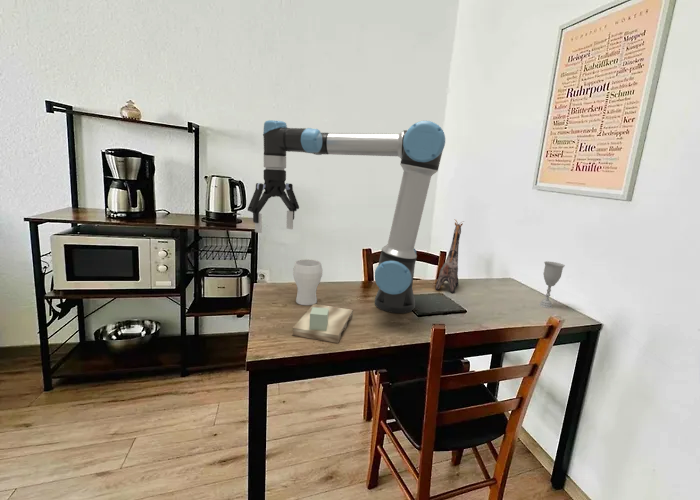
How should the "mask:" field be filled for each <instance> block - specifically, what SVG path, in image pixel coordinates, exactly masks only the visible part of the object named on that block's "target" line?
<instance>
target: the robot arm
mask: <svg viewBox="0 0 700 500" xmlns="http://www.w3.org/2000/svg"><path fill="white" fill-rule="evenodd" d="M262 136H263V137H262V138H263V167H264V168H265V169H263V180H264V182H263V183H260V182H259V183H255V190H254V192H253V195H252V197H251V198H250V202H249V203H248V207H247V211H248V212H251V213H252V221H253V223H254V232H255V233H258V234H262V233H263V232H262V231H263V229H262V227H263V225H262V223H263V222H262V213H261V211H262V209H263V208H264V206H265V205H266V203H267V202H268V201H269V199H271V198H276V197H277V198H278V197H279V198H280V199H281V201H282V202H283V203H284V205H285V207H286V209H288V210H286V229H288V230H294V220H295V212H297V210H299V209H300V206H299V202H298V200H297V197H296V195H295V192H294V189H293V187H294V186H293V183H288V182H287V183H286V179H287V170H285V169H286V168H287V153H289V152H293V153H306V154H313V155H317V156H322V155H332V156H333V155H339V156H367V157H368V156H371V157H372V156H373V157H375V156H376V157H398V158H400V167H401V168H402V170H403V174H402V177H401V182H400V186H399V191H398V196H397V200H396V204H395V209H394V214H393V218H392V224H391V227H390V232H389V237H388V241H387V244H386V245H384V246H383V247H382V248H381V250H380V251H381V252H380V256H379V260H378V265H377V267H376V268H375V270H374V281H375V283H376V286H377V287H378V291H377V293H376V295H375V297H374V305H375V306H376V308H377V309H380V310H381V311H384V312H388V313H394V314H406V313H407V314H408V313H411V312H413V311H414V310H415V309H416V301H415V299H416V298H415V295H414V290H413V283H414V273H415V265H416V261H417V257H418V255H417V250H416V248H415V246H416V241H417V237H418V232H419V230H420V228H419V227H420V225H421V221H422V216H423V212H424V207H425V204H426V199H427V196H428V192H429V191H428V190H429V188H430V183H431V179H432V176H434V175H435V174H436V173H438V171H439V167H440V163H441V159H442V156H443V151H444V148H445V145H446V135H445V132H444V130H443V128H442V127H441V126H440V125H439V124H437V123H435V122H433V121H432V120H431V121H430V120H421V121H418V122H415V123H413V124H412V125H411V126H410V127H409V128H408V129H406V130H404V129H403V130H402V131H401V132H400V133H394V132H393V133H387V132H386V133H385V132H384V133H383V132H380V133H379V132H377V133H375V132H373V133H372V132H321V130H319V129H318V128H311V127H307V128H306V127H303V128H301V127H300V128H298V127H295V128H293V127H288V125H287V122H286V121H283V120H270V119H269V120H265V121H264V123H263V134H262ZM414 308H415V309H414ZM413 309H414V310H413ZM412 310H413V311H412Z"/></svg>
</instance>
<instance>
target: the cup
mask: <svg viewBox="0 0 700 500" xmlns="http://www.w3.org/2000/svg"><path fill="white" fill-rule="evenodd" d="M292 276H293V279H294V283H295V285H296V287H297V294H296V298H295V302H296V304H298V305H300V306H301V305H302V306H312V305H313V304H317V302H318V299H317V289H318V288H317V287H318V285H319V284H320V283H321V279H322V277H323V266H322V262H321V261H319V260H316V259H307V258H306V259H298V260H296V261H295V262H294V265H293V268H292Z"/></svg>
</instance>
